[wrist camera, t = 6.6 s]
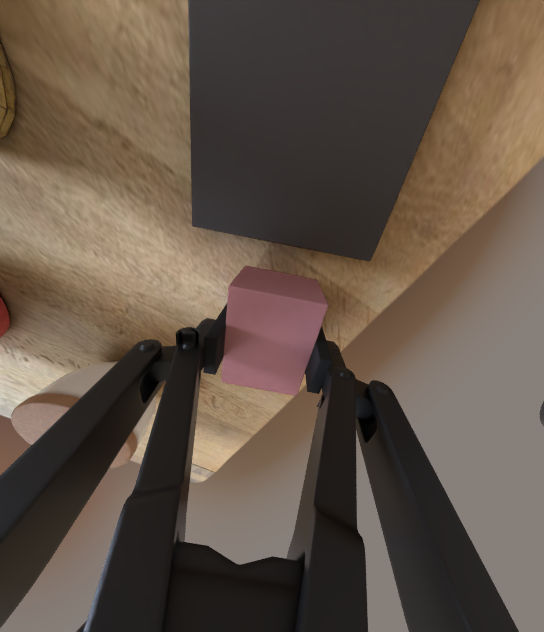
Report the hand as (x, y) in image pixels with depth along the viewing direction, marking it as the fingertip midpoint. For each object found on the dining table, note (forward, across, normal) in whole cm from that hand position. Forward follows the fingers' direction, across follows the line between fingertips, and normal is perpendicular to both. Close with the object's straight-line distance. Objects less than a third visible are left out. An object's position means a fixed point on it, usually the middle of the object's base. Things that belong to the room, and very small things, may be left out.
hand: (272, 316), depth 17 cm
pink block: (0, 0, 0) cm, 0 cm away
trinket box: (+2, -16, -14) cm, 22 cm away
